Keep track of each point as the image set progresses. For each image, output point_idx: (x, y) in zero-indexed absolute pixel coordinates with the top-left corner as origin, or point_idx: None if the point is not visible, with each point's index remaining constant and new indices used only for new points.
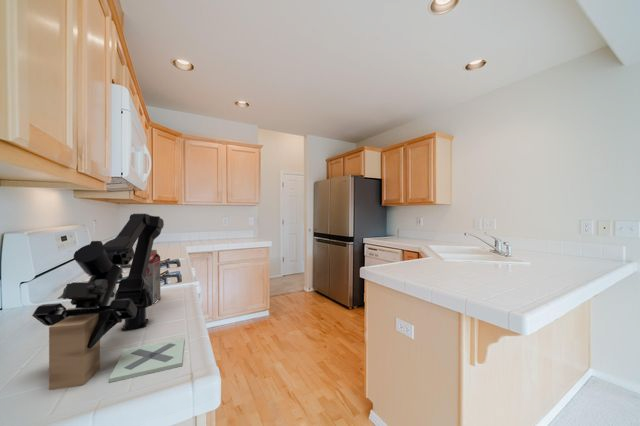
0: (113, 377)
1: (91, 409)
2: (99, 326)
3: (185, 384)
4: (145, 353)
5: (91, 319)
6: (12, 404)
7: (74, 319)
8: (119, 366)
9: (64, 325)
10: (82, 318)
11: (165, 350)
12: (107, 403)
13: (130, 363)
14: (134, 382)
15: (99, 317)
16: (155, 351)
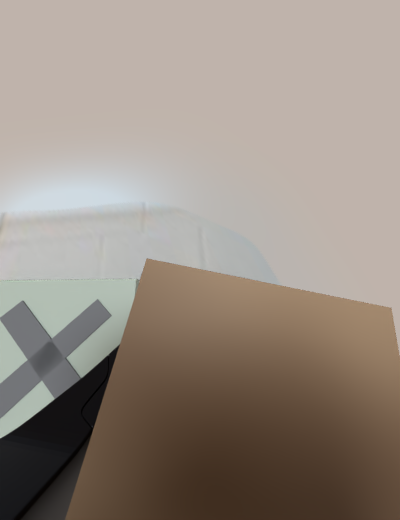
0: (128, 281)
1: (149, 214)
2: (96, 378)
3: (16, 214)
4: (61, 379)
5: (105, 395)
6: (270, 280)
7: (288, 484)
8: (122, 328)
9: (287, 297)
10: (207, 482)
11: (8, 376)
12: (131, 218)
13: (99, 333)
14: (95, 260)
15: (37, 477)
16: (34, 381)
